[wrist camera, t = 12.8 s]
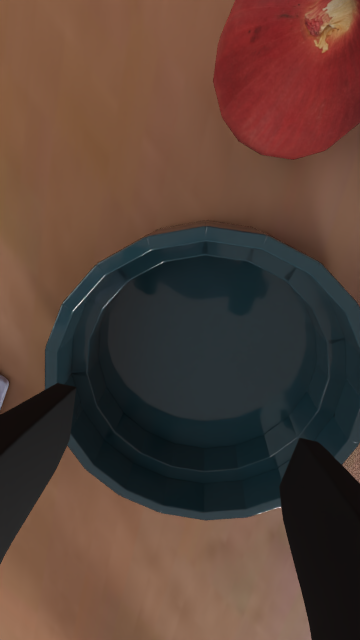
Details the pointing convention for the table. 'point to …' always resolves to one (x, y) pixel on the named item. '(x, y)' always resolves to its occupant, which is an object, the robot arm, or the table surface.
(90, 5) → the table surface
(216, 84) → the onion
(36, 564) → the table surface
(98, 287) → the bowl
